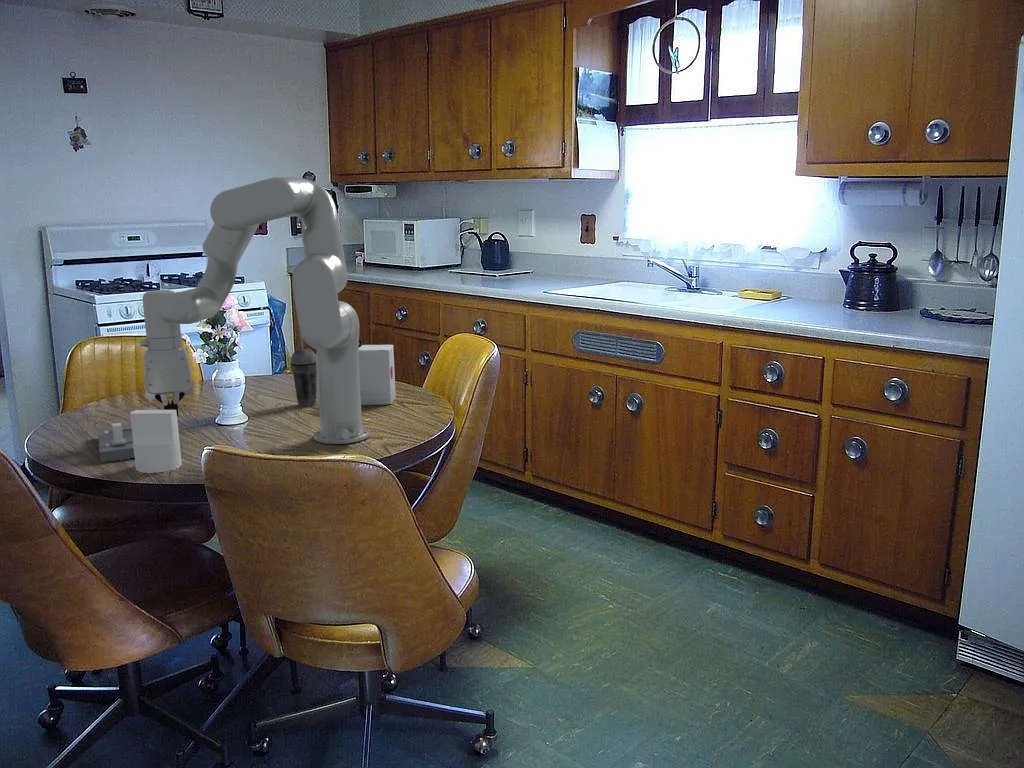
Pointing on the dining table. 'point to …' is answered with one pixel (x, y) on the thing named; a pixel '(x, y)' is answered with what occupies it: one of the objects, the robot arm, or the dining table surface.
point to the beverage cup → (304, 375)
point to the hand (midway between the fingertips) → (172, 420)
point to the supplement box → (376, 374)
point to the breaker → (118, 435)
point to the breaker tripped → (152, 408)
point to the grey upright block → (155, 440)
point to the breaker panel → (116, 451)
